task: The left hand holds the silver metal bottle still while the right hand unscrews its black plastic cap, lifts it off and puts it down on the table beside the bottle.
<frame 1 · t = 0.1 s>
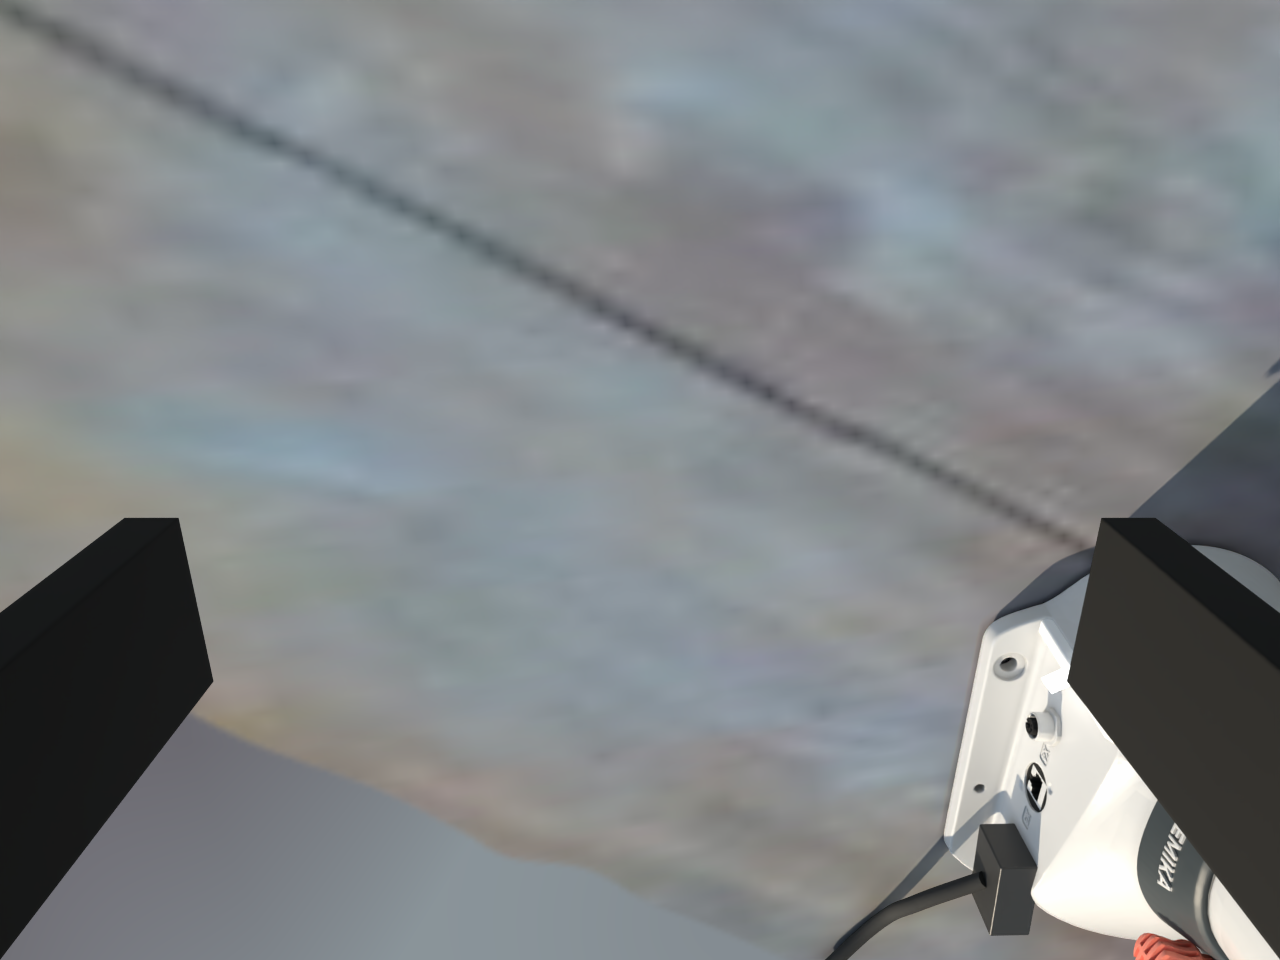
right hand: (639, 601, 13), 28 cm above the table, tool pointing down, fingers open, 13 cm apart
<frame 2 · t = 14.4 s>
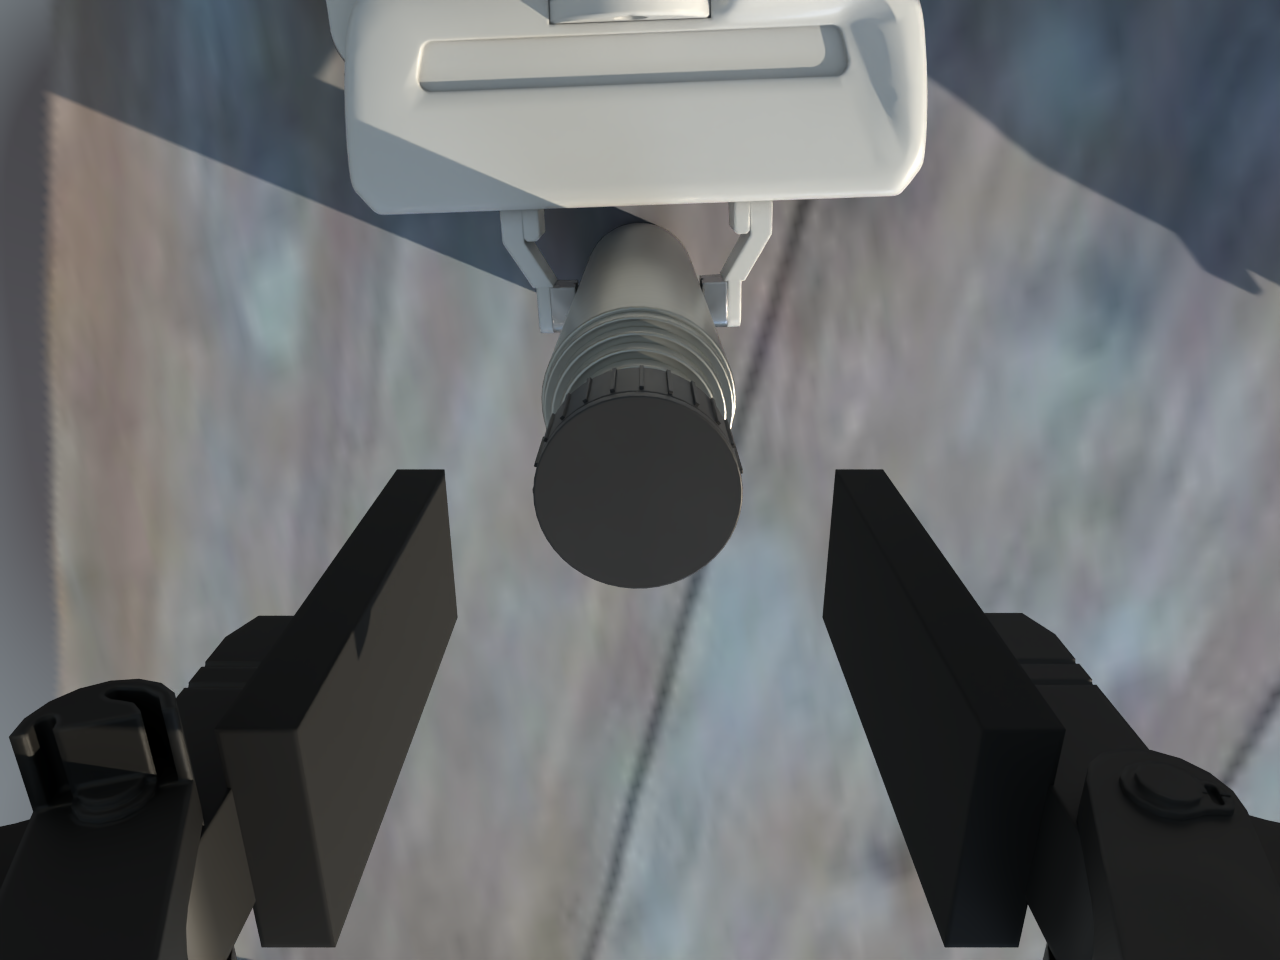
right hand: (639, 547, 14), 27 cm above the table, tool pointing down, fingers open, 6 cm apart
left hand: (641, 327, 34), fingers closed on bottle, 5 cm apart
cap: (638, 490, 17), point 25 cm above the table, screwed on, not yet turned
bottle: (639, 278, 40), on the table, touching left hand
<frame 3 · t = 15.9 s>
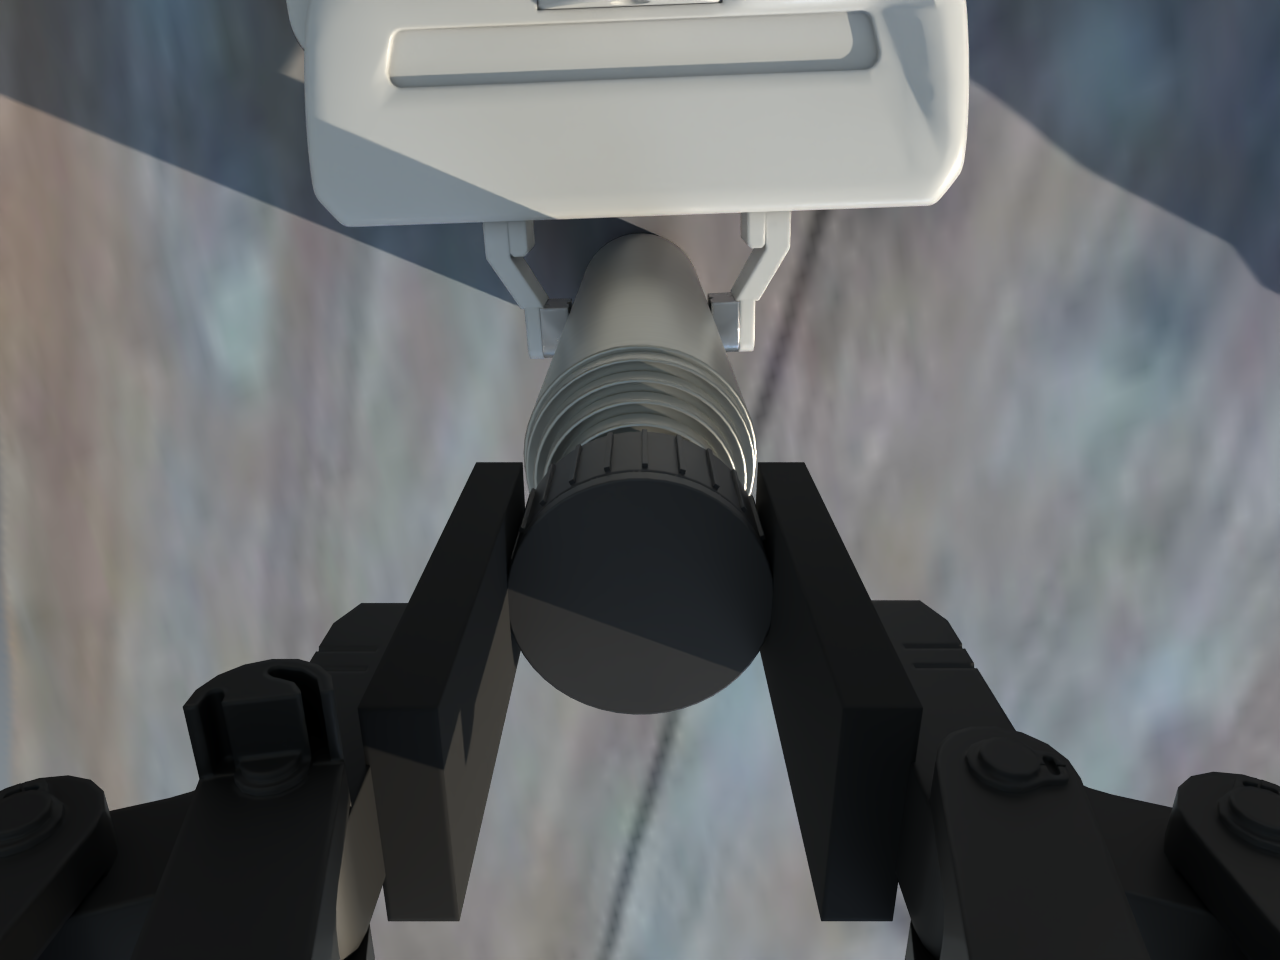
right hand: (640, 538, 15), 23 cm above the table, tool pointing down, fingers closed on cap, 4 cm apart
left hand: (642, 351, 31), fingers closed on bottle, 5 cm apart
cap: (640, 593, 13), point 25 cm above the table, screwed on, not yet turned, touching right hand
bottle: (640, 293, 36), on the table, touching left hand
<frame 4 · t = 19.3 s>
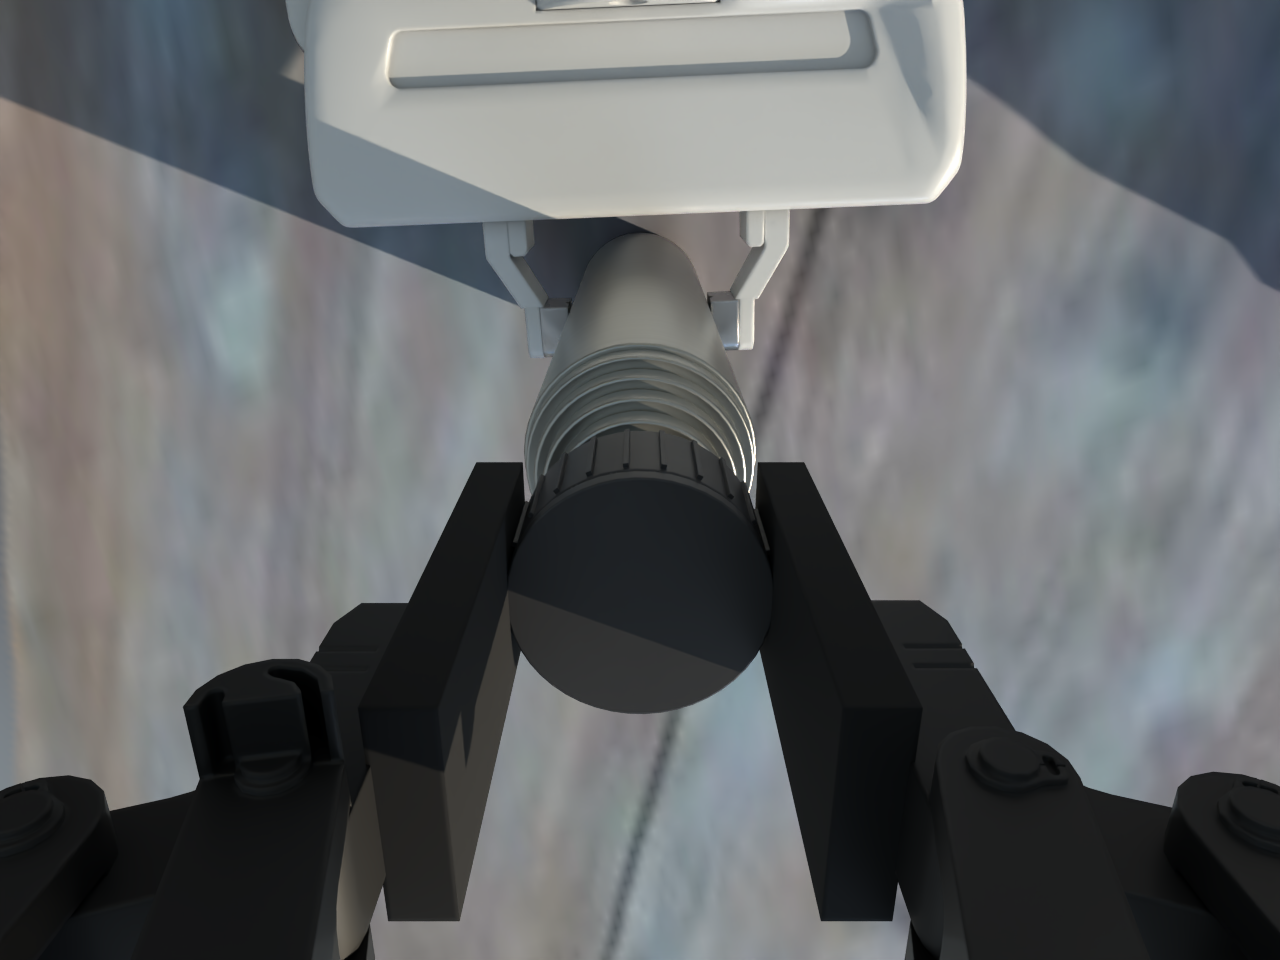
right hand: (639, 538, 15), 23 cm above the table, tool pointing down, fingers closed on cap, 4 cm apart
left hand: (642, 350, 31), fingers closed on bottle, 5 cm apart
cap: (640, 593, 13), point 25 cm above the table, turned 117° so far, risen 0.1 cm, still on its thread, touching right hand
bottle: (640, 292, 36), on the table, touching left hand
when the right hand's fingers open (1 cm above the table, at t = 34.5 s): cap drops 1 cm, point 2 cm above the table.
when the left hand's fingers open (6 cm above the table, at t = 35.9 s): bottle stays where it is, on the table.
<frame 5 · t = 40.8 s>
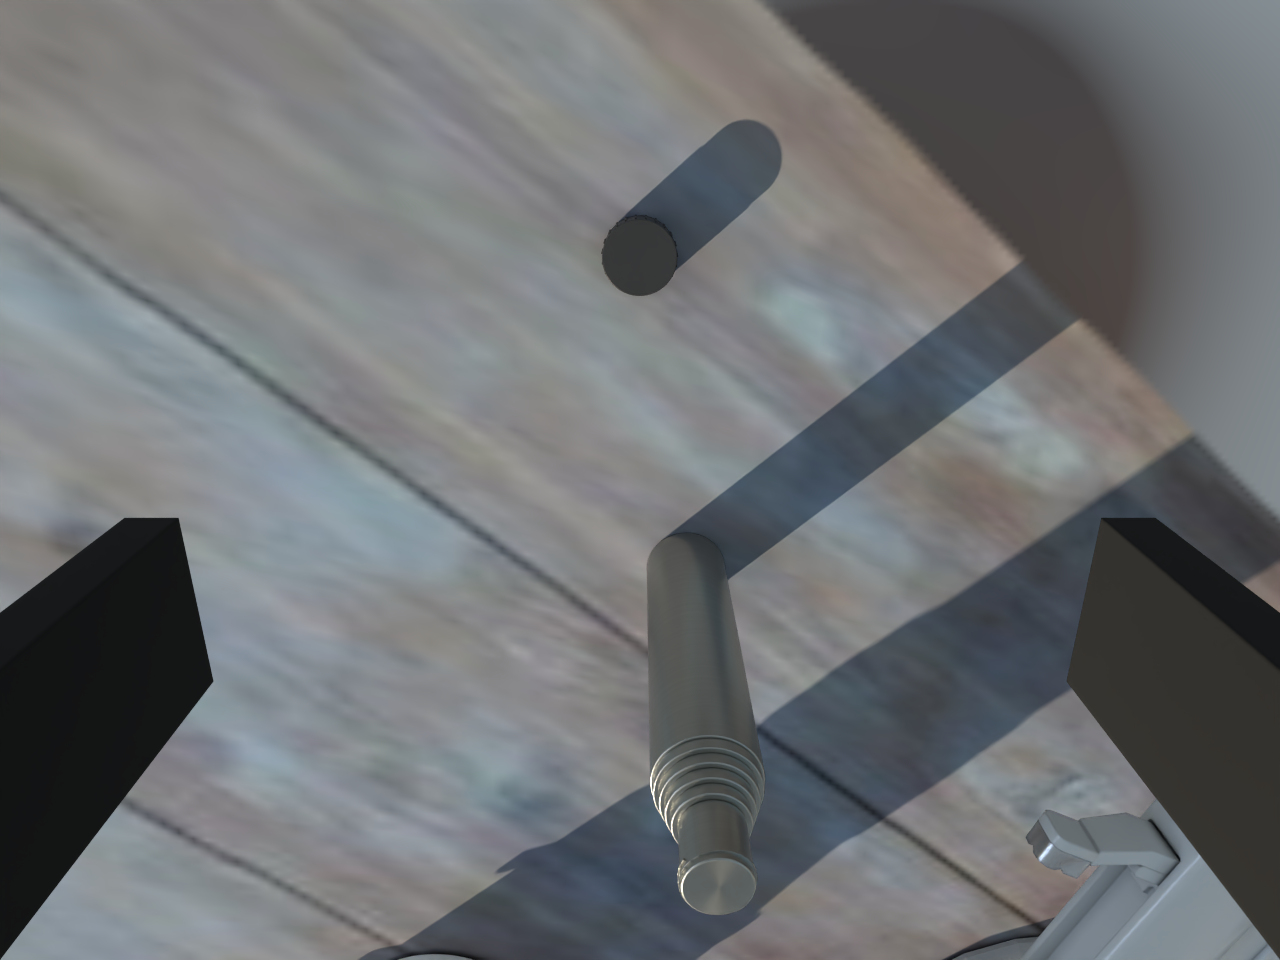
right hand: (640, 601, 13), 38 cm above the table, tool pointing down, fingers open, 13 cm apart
cap: (639, 257, 46), point 2 cm above the table, off its thread
bottle: (685, 567, 55), on the table
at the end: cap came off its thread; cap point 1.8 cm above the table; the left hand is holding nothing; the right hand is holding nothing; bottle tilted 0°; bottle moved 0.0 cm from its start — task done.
